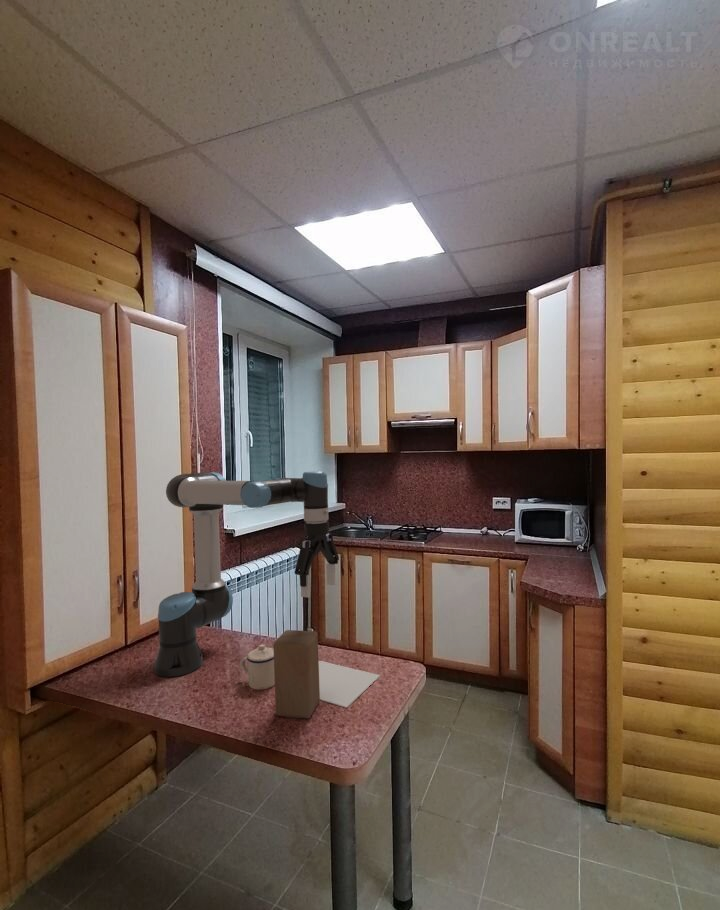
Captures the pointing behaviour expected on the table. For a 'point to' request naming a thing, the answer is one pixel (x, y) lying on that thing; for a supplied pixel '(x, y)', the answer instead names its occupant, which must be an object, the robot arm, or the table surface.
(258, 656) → the teacup with lid
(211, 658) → the table surface
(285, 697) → the block
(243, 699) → the table surface
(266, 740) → the table surface
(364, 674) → the mat
